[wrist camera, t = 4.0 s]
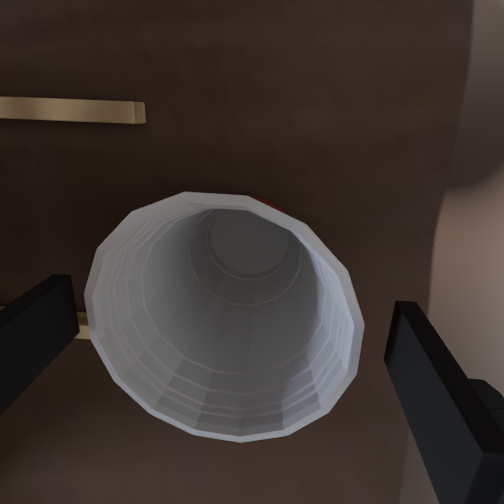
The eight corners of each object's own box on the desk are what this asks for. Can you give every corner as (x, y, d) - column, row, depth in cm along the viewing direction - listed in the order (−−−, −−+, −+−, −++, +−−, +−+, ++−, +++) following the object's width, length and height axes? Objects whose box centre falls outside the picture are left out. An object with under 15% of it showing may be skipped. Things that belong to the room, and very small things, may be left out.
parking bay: (-14, 317, 29) (-32, 329, 27) (-73, 94, 23) (-102, 92, 21) (160, 331, 28) (152, 344, 26) (144, 102, 22) (133, 101, 20)
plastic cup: (181, 136, 22) (77, 157, 11) (349, 177, 22) (414, 239, 11) (159, 286, 26) (67, 413, 15) (302, 321, 26) (314, 473, 15)
